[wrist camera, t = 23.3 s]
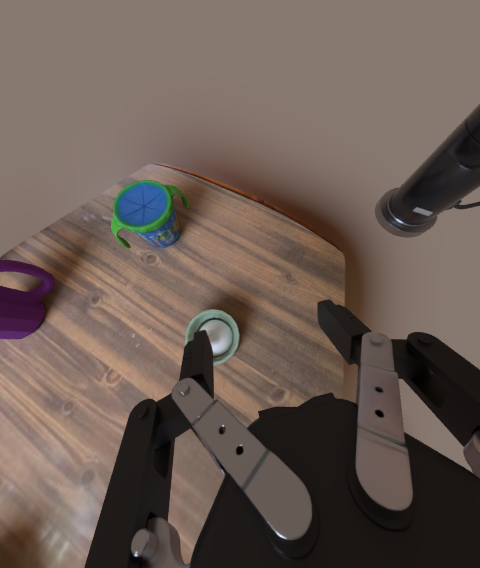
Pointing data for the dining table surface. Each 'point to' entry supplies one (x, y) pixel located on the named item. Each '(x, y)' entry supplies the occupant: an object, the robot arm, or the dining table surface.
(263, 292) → the dining table surface
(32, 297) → the mug
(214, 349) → the garlic bulb
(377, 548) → the robot arm
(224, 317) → the dish
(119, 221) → the snack cup
